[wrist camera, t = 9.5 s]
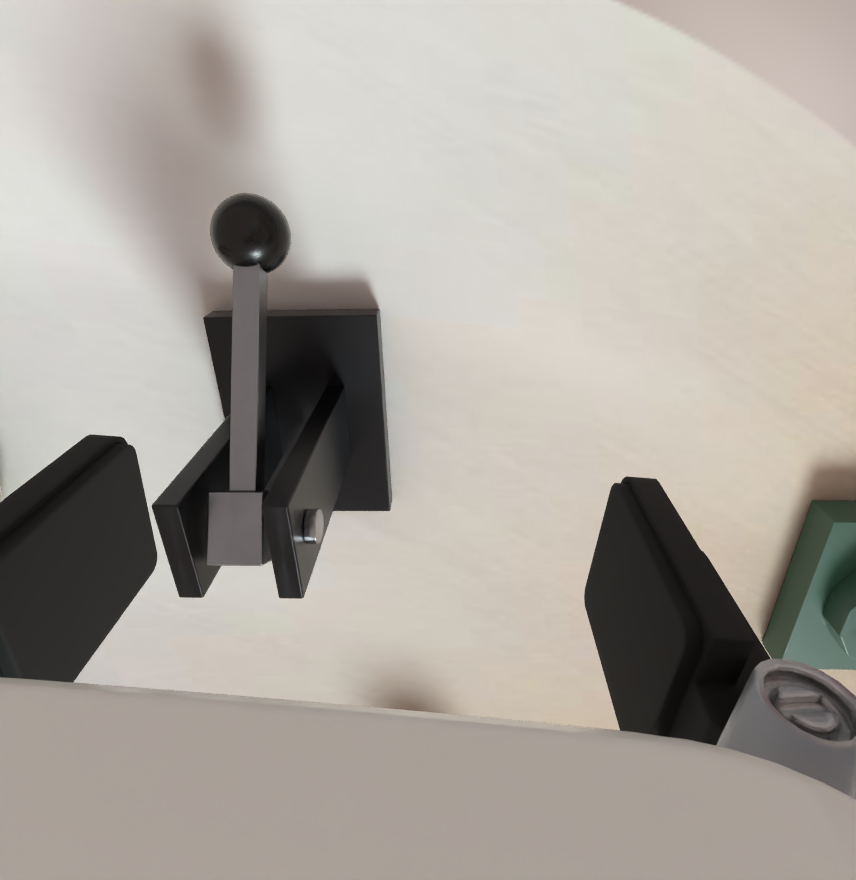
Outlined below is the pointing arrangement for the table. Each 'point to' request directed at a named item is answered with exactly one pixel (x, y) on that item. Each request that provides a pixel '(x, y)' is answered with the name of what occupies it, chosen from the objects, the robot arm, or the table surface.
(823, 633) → the switch box
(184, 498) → the switch bracket
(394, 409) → the table surface
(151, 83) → the table surface
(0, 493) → the vase
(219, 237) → the lever
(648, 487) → the robot arm
